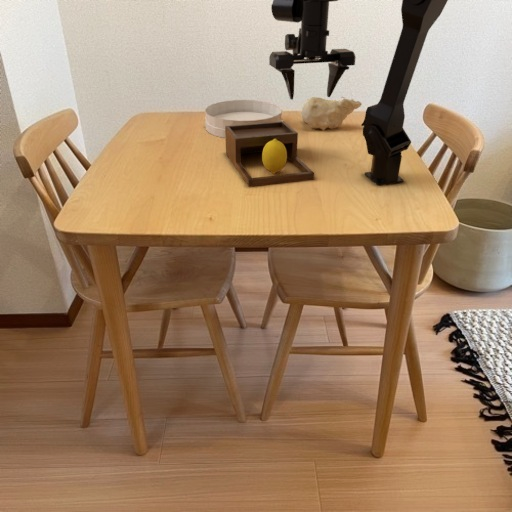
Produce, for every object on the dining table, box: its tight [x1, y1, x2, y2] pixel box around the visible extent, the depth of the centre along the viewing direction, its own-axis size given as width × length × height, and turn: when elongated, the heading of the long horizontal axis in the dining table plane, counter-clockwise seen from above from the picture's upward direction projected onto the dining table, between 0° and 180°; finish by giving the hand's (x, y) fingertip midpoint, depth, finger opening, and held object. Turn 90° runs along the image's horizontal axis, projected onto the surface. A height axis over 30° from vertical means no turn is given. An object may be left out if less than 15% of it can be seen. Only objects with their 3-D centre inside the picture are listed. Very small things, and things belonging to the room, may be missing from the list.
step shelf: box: [225, 120, 315, 187], centre depth 111 cm, size 21×15×7 cm
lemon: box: [261, 139, 288, 175], centre depth 106 cm, size 6×6×8 cm
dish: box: [204, 99, 283, 139], centre depth 137 cm, size 22×22×5 cm
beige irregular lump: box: [300, 96, 363, 131], centre depth 136 cm, size 15×7×15 cm
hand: (310, 98), depth 112 cm, fingers open, 9 cm apart
